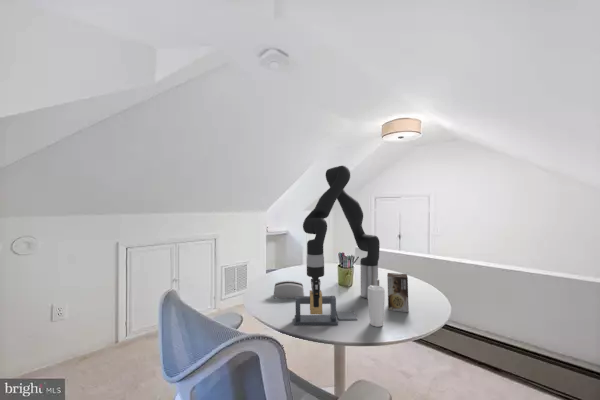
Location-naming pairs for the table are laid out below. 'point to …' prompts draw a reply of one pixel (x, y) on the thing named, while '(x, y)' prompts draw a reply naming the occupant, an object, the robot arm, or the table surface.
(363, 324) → the table surface
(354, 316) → the slate pad
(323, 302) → the rail stand
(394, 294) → the cookie box
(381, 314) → the drinking glass
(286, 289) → the grey curved block
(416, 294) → the table surface
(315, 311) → the block
